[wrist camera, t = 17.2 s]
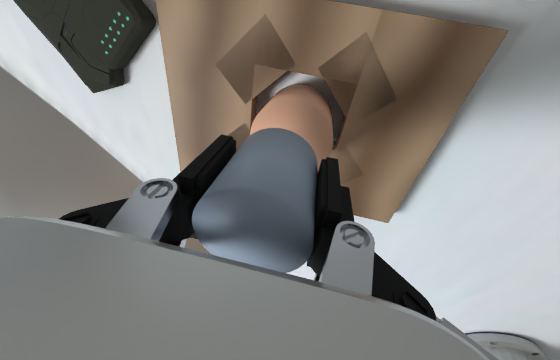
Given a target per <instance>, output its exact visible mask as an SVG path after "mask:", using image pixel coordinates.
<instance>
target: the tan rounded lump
mask: <svg viewBox="0 0 560 360" xmlns="http://www.w3.org/2000/svg"><path fill="white" fill-rule="evenodd" d="M266 128H282V129H286V130H289V131H292V132H294V133H296V134H298V135H300V136H301V137H302V138H304V139H305V140H306V141H307V142H308V143H309V144H310V146H311V147H312V148H313V150H314V152H315V154H316V157H317V161H318V170H319V167H320V164H321V160H322V159H326V158H327V157H330V154H331V152H332V148H333V126H332V112H331V108H330V105H329V103H328V101H327V99H326V98H325V96H324V95H323V94H322V93H321V92H319V91H318V90H316V89H315V88H313V87H310V86H307V85H301V84H296V85H290V86H287V87H285V88H283V89H281V90H280V91H278V92H277V93H276V94H275V95H274V96H273V98H272V99H271V100H270V101H269V102H268V103H267V104H266V105H265V106H264V108H263V109H262V110H261V111H260V112H259V113H258V114H257V116H256V117H255V119H254V121H253V123H252V126H251V131H250V135H251V134H253V133H255V132H257V131H259V130H262V129H266Z"/></svg>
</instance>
